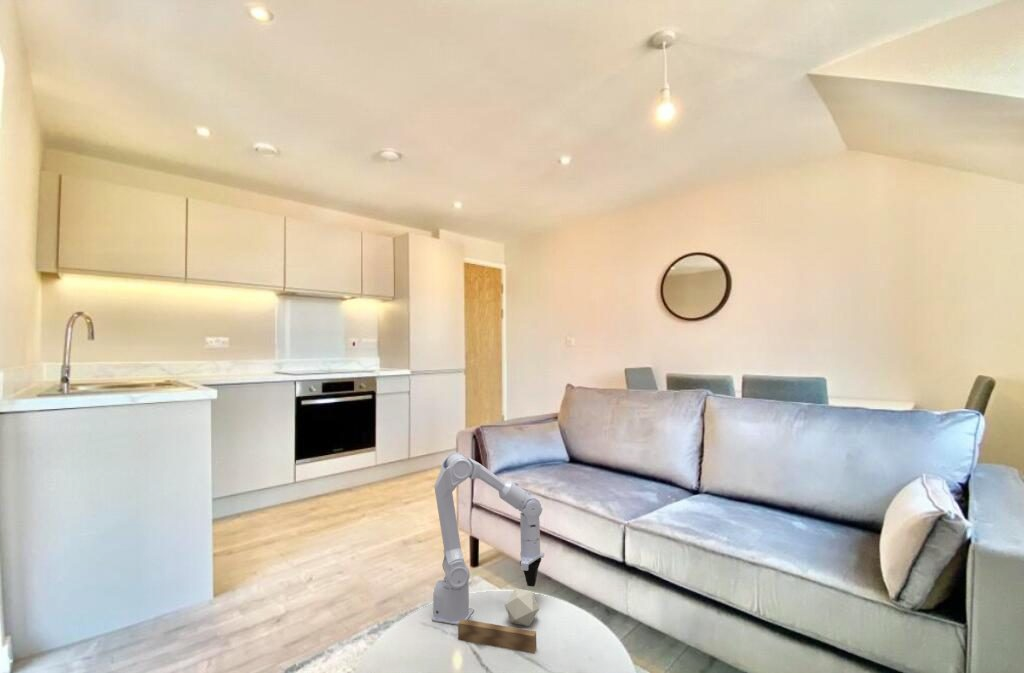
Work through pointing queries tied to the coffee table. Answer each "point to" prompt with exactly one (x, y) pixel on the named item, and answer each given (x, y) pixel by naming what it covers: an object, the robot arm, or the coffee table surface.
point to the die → (521, 607)
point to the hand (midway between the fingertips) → (531, 585)
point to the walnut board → (497, 635)
